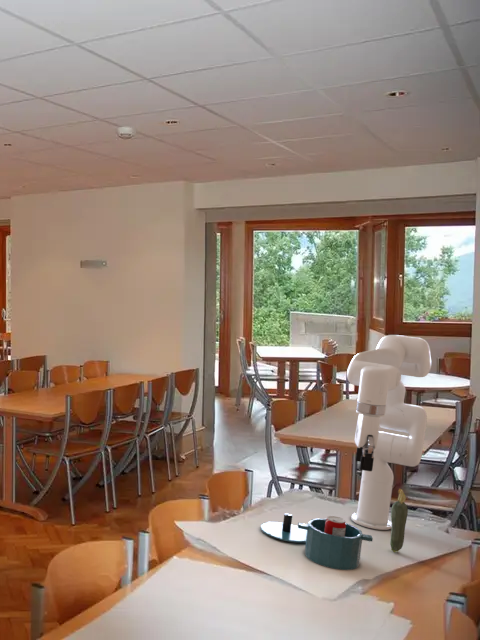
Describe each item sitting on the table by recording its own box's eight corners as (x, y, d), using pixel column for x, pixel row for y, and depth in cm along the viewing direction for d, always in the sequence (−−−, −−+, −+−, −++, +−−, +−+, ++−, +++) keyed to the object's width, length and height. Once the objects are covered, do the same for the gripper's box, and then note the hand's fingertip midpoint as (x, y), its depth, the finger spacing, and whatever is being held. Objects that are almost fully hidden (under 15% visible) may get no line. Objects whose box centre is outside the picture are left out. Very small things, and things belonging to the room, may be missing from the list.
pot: (294, 543, 230) (297, 513, 229) (365, 556, 224) (368, 526, 223) (296, 561, 217) (300, 530, 216) (372, 576, 210) (376, 543, 209)
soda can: (326, 551, 224) (330, 513, 223) (344, 558, 220) (349, 519, 219) (318, 556, 220) (323, 517, 219) (337, 562, 217) (342, 523, 215)
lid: (260, 521, 247) (262, 502, 246) (310, 530, 242) (313, 510, 241) (260, 538, 233) (262, 517, 232) (314, 548, 228) (316, 527, 227)
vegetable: (403, 556, 226) (412, 493, 224) (388, 554, 227) (396, 491, 224) (399, 550, 230) (407, 488, 228) (384, 548, 231) (392, 486, 229)
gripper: (353, 401, 227) (346, 456, 228) (360, 413, 210) (353, 471, 212) (380, 405, 224) (373, 460, 226) (390, 416, 208) (382, 476, 210)
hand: (363, 465), depth 219 cm, fingers open, 9 cm apart
